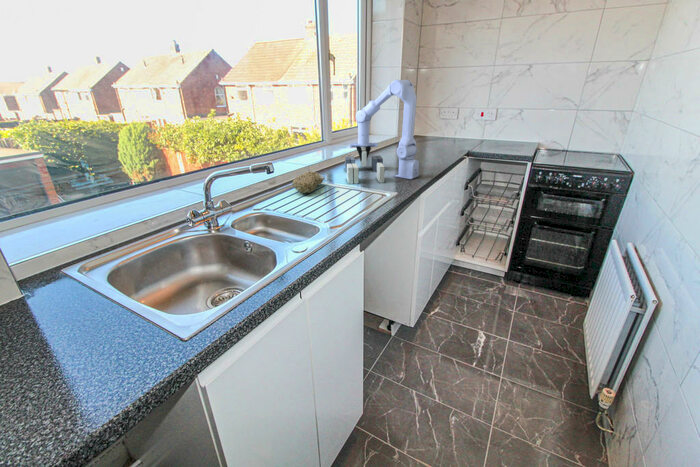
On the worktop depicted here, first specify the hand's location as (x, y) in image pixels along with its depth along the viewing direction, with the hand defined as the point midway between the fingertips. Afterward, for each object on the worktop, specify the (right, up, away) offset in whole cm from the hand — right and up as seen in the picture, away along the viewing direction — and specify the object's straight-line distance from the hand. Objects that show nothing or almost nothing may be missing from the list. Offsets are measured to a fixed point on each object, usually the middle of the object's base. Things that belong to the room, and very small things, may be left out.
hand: (363, 161), depth 177 cm
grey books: (0, -4, +2) cm, 5 cm away
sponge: (-26, -20, -32) cm, 45 cm away
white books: (0, -14, -20) cm, 24 cm away
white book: (0, -2, +1) cm, 2 cm away
